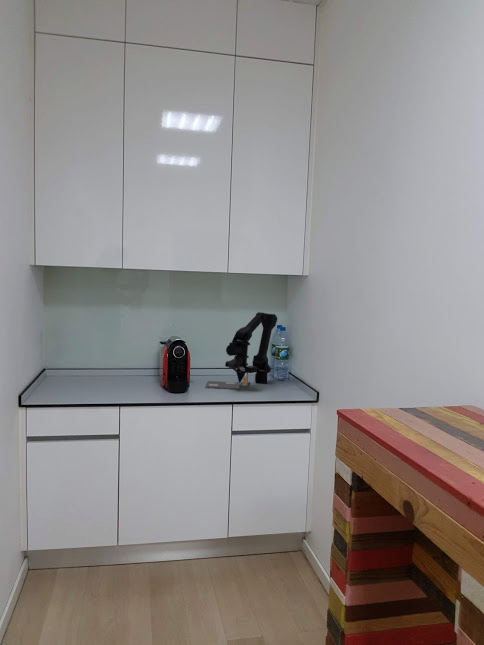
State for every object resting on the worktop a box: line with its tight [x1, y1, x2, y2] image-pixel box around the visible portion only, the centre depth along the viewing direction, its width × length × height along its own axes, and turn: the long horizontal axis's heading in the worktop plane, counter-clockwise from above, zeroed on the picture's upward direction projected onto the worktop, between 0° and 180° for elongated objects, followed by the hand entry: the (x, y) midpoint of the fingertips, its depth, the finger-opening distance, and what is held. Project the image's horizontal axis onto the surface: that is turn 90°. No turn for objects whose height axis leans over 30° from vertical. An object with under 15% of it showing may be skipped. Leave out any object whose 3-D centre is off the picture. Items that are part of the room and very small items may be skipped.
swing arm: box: [242, 372, 249, 386], centre depth 271 cm, size 19×2×6 cm, turn 179°
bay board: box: [204, 380, 241, 390], centre depth 272 cm, size 18×14×1 cm
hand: (239, 382), depth 268 cm, fingers closed
